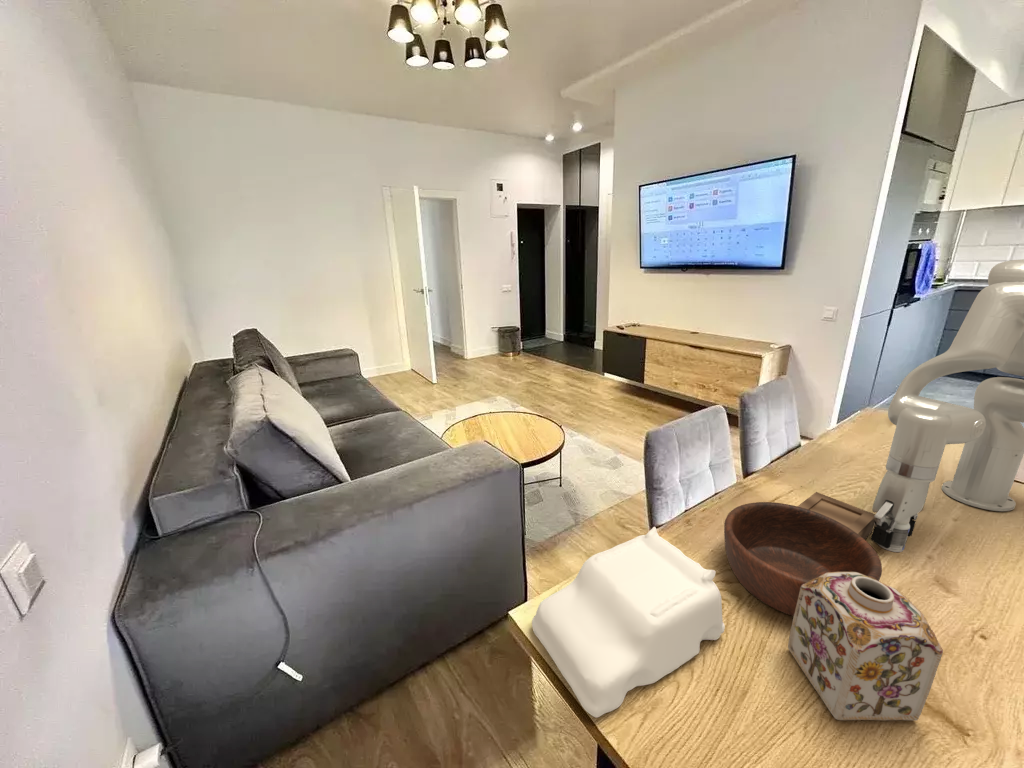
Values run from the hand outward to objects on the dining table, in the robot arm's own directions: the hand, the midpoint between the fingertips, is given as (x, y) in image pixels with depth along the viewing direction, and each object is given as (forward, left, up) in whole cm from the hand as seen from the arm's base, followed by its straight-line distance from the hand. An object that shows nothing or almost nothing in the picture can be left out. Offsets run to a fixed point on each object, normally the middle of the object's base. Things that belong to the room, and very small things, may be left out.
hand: (891, 538), depth 90 cm
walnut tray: (+5, -9, -2) cm, 10 cm away
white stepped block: (+65, -8, -2) cm, 66 cm away
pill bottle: (0, 0, -2) cm, 2 cm away
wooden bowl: (+29, -3, -2) cm, 29 cm away
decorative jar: (+41, +14, -2) cm, 43 cm away
